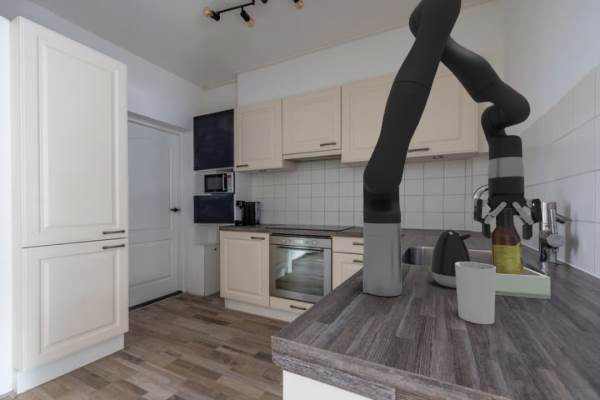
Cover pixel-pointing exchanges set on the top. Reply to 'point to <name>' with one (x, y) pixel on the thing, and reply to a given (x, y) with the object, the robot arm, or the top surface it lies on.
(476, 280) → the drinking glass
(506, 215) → the sauce bottle
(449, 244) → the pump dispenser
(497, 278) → the bin
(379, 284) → the robot arm
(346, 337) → the top surface
